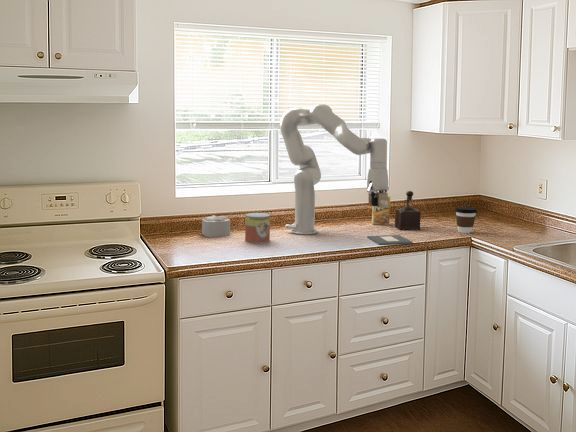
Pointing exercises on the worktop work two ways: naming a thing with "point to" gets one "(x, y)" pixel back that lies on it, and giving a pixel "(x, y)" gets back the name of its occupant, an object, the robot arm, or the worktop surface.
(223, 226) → the lumpy-topped squat cylinder
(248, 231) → the canned food
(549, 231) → the worktop surface
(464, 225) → the coffee cup
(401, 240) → the mat
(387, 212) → the candy box
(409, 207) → the dark brown knob-topped block
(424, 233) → the worktop surface
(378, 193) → the beige textured block
